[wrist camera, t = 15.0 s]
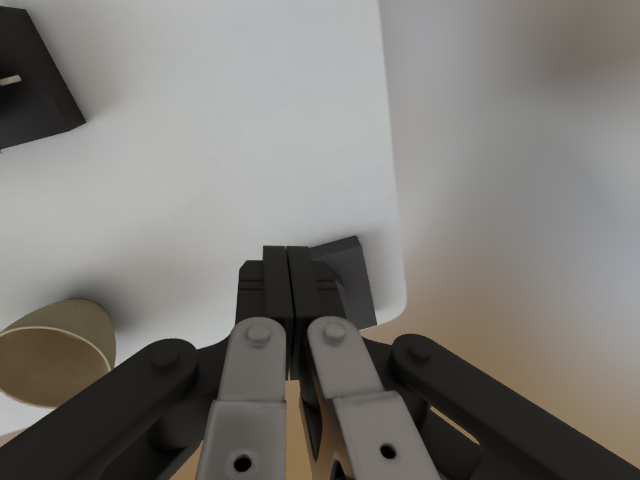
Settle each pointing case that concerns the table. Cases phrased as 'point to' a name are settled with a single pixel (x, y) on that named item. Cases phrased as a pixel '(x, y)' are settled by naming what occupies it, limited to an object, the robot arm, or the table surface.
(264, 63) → the table surface
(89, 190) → the table surface
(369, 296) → the button block
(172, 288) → the table surface
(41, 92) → the timer panel
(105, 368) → the bowl
